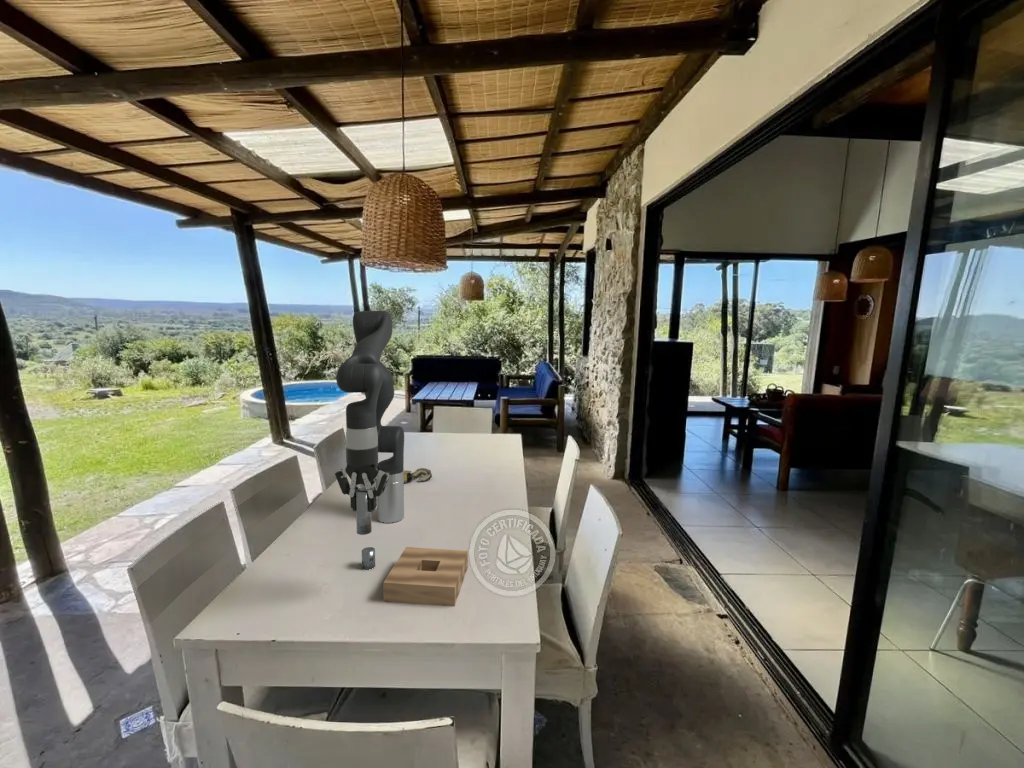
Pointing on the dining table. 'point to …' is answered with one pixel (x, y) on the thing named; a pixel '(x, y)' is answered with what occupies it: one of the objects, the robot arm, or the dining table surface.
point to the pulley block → (416, 475)
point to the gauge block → (427, 576)
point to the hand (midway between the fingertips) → (363, 510)
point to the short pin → (368, 558)
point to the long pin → (363, 512)
